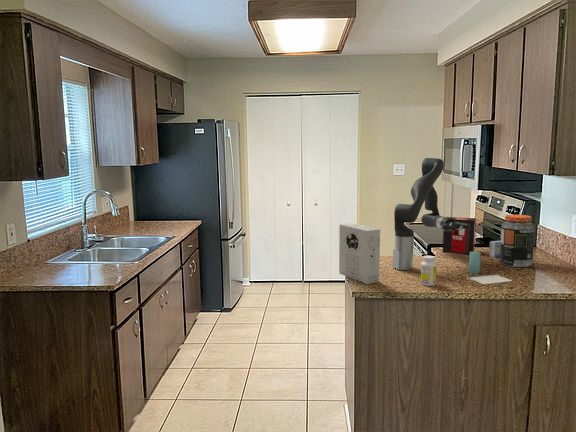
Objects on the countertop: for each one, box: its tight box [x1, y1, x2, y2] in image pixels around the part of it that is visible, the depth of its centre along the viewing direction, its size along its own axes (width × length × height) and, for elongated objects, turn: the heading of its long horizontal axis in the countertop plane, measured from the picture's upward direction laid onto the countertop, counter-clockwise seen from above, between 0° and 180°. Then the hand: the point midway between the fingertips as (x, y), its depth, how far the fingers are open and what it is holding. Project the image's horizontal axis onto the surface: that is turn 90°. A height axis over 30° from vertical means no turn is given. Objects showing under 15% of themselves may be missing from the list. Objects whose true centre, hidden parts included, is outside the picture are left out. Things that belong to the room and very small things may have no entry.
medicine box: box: [488, 240, 501, 258], centre depth 267 cm, size 8×4×9 cm, turn 105°
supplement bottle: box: [420, 255, 437, 287], centre depth 214 cm, size 7×7×13 cm
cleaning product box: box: [442, 216, 477, 256], centre depth 277 cm, size 16×9×20 cm, turn 64°
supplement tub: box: [499, 214, 535, 268], centre depth 247 cm, size 16×16×26 cm
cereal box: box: [338, 222, 381, 285], centre depth 225 cm, size 22×8×25 cm, turn 30°
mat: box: [466, 273, 513, 285], centre depth 222 cm, size 16×12×1 cm
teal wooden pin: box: [468, 251, 481, 274], centre depth 234 cm, size 5×5×10 cm
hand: (463, 228), depth 242 cm, fingers open, 8 cm apart
